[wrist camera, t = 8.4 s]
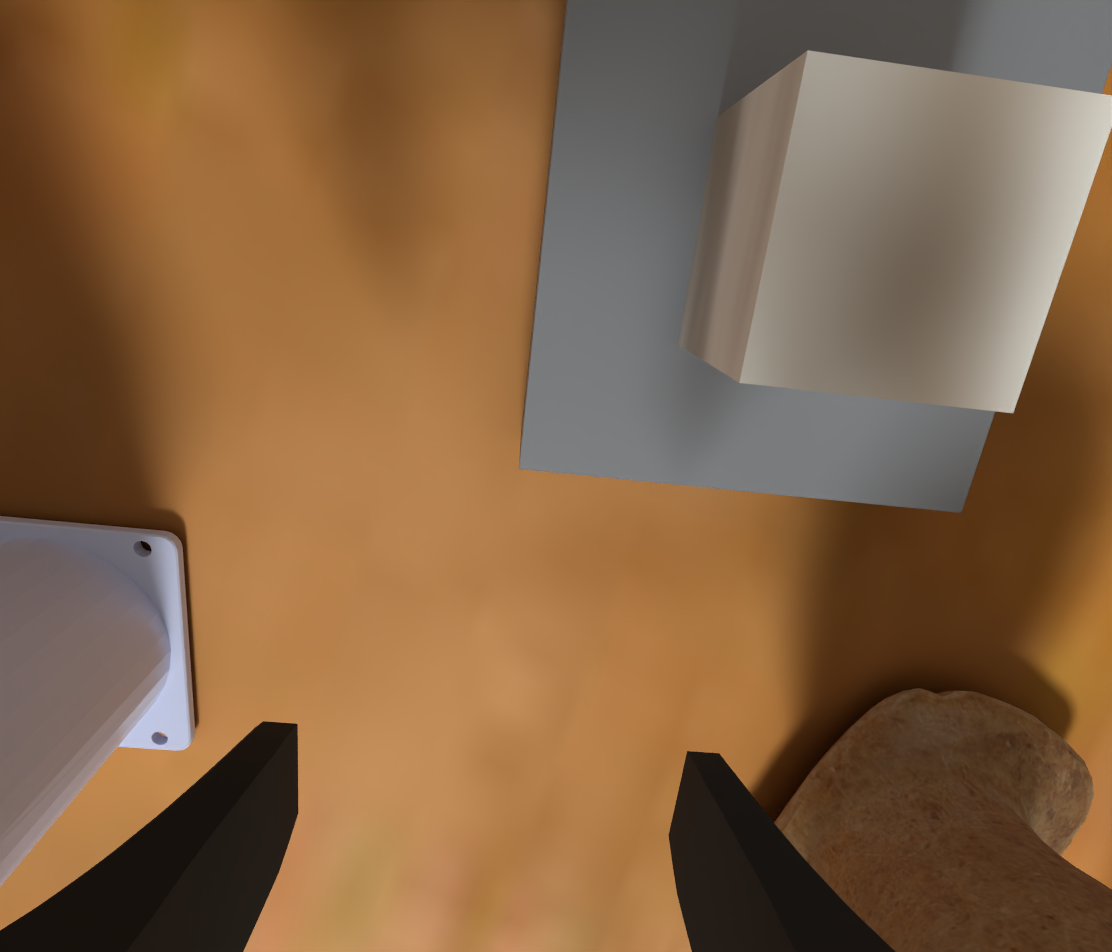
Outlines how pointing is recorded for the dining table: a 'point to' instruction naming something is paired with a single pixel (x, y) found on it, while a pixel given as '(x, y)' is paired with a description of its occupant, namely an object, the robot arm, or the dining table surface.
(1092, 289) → the dining table surface
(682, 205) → the base
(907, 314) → the cube
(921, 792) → the stone cup
